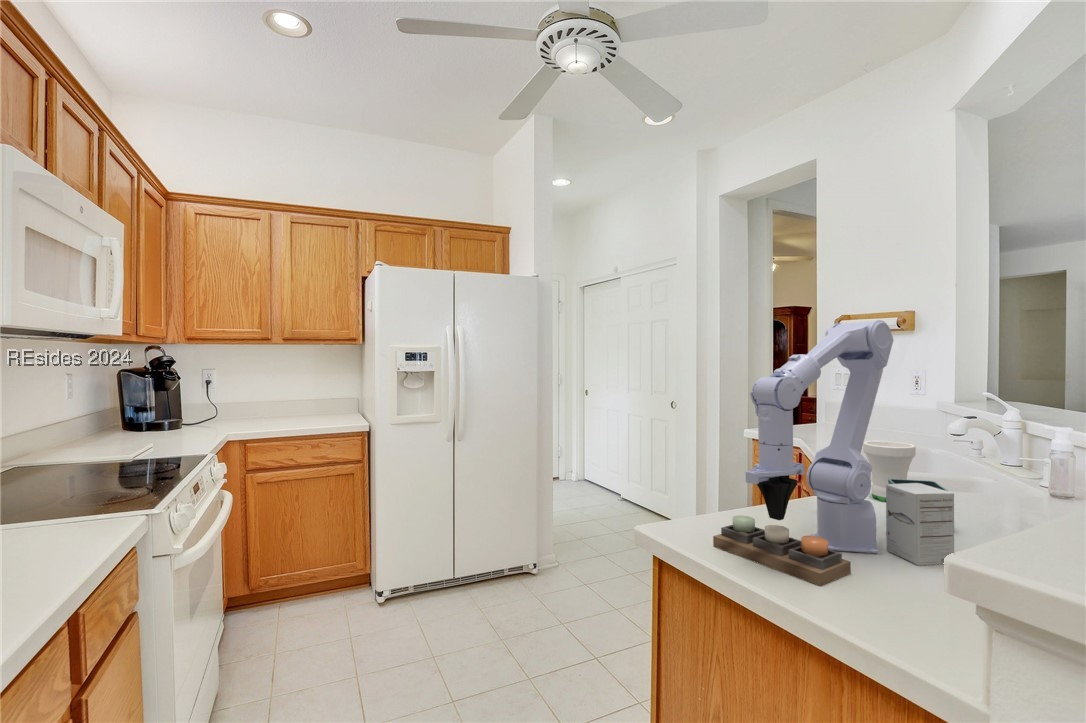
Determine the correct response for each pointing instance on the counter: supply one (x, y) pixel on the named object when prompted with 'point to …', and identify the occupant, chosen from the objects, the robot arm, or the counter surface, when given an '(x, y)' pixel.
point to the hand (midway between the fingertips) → (776, 518)
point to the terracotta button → (814, 545)
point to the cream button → (776, 534)
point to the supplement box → (919, 522)
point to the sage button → (743, 523)
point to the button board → (783, 555)
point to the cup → (887, 463)
